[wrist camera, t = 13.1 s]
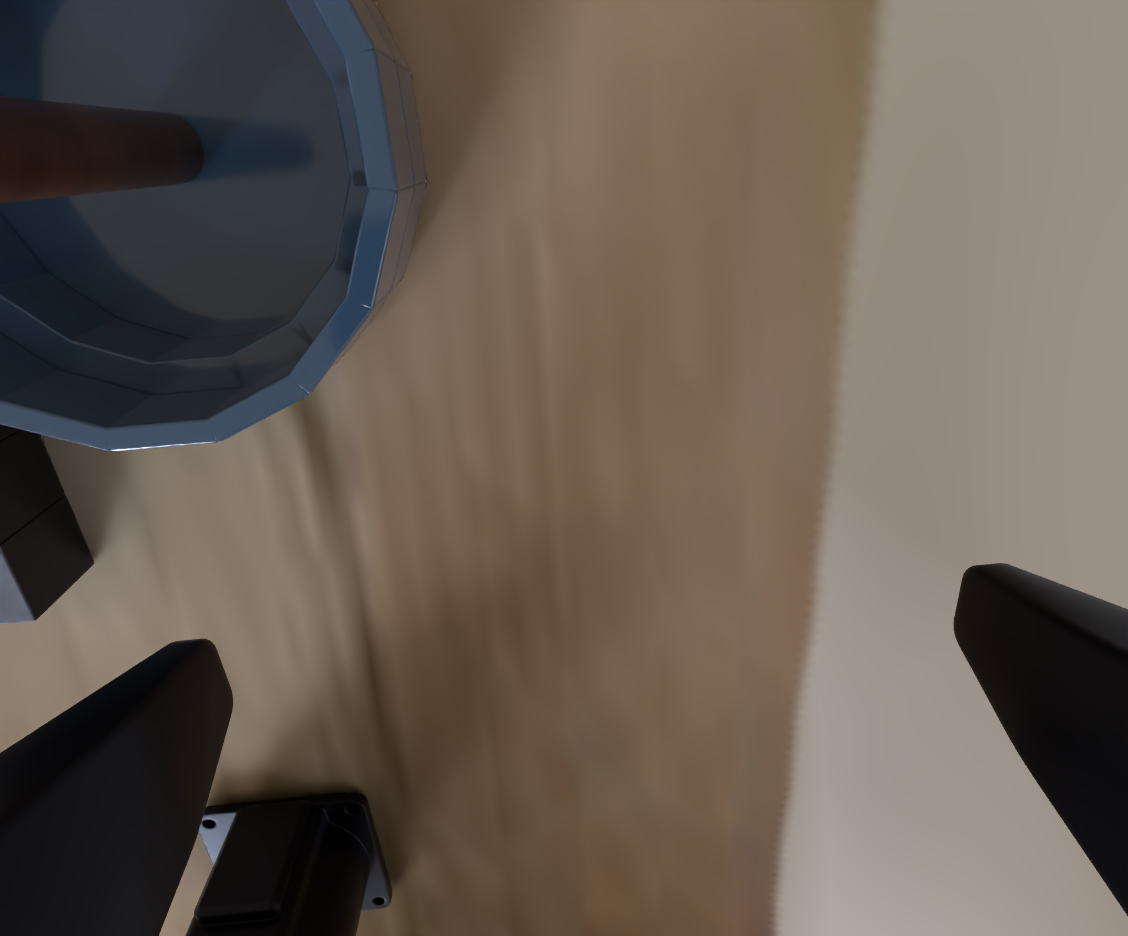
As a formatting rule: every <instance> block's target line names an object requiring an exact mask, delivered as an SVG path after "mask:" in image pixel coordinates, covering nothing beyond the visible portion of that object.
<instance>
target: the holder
mask: <svg viewBox="0 0 1128 936" xmlns="http://www.w3.org/2000/svg"><path fill="white" fill-rule="evenodd" d="M93 564H94V561H93V558H92V556H91V554H90V551H89V549H88V547H87V544H86V542H85V540H84V537H83V535H82V533H81V530H80V528H79V526H78V523H77V521H76V519H75V516H74V514H73V512H72V509H71V507H70V505H69V502H68V500H67V498H66V496H64V491H63V488H62V486H61V484H60V481H59V479H58V477H57V474H56V472H55V470H54V467H53V465H52V463H51V460H50V458H49V456H48V453H47V451H46V449H45V446H44V444H43V442H42V439H41V437H40V435H39V434H37V433H33V432H29V431H25V430H21V429H17V428H13V427H9V426H5V425H1V424H0V624H3V623H14V622H25V621H34V620H37V619H38V618H39V617H40V616H41V615H42V614H43V613H44V612H45V611H46V610H47V609H48V608H49V607H50V606H51V605H52V604H53V603H54V602H55V601H56V600H57V599H58V598H59V597H60V596H61V595H62V594H64V593H65V592H66V591H67V590H68V589H69V588H70V587H71V586H72V585H73V584H74V583H75V582H76V581H77V580H78V579H79V578H80V577H81V576H82V575H83V574H84V573H85V572H86V571H87V570H88V569H89V568H90V567H91V566H92V565H93Z"/></svg>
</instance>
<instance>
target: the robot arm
mask: <svg viewBox="0 0 1128 936" xmlns="http://www.w3.org/2000/svg"><path fill="white" fill-rule="evenodd" d="M954 633H955V637H956V640H957V642H958V644H959V646H960V648H961V650H962V652H963V653H964V655H965V657H966V659H967V661H968V663H969V665H970V666H971V668H972V670H973V672H974V674H975V676H976V677H977V679H978V681H979V683H980V685H981V687H982V689H983V690H984V692H985V694H986V696H987V697H988V699H989V701H990V703H991V705H992V707H993V709H994V711H995V712H996V714H997V716H998V718H999V720H1000V722H1001V724H1002V725H1003V727H1004V729H1005V731H1006V733H1007V735H1008V736H1009V738H1010V740H1011V742H1012V743H1013V745H1014V746H1015V748H1016V750H1017V752H1018V754H1019V755H1020V757H1021V758H1022V760H1023V761H1024V763H1025V765H1026V766H1027V768H1028V769H1029V771H1030V772H1031V774H1032V775H1033V777H1034V778H1035V780H1036V781H1037V783H1038V784H1039V786H1040V787H1041V789H1042V790H1043V792H1044V793H1045V795H1046V796H1047V798H1048V799H1049V801H1050V802H1051V803H1052V805H1053V806H1054V808H1055V809H1056V811H1057V812H1058V814H1059V815H1060V817H1061V818H1062V820H1063V821H1064V823H1065V824H1066V826H1067V827H1068V829H1069V830H1070V832H1071V833H1072V835H1073V836H1074V837H1075V839H1076V840H1077V842H1078V843H1079V845H1080V846H1081V848H1082V849H1083V851H1084V852H1085V854H1086V855H1087V857H1088V858H1089V860H1090V861H1091V863H1092V864H1093V865H1094V867H1095V868H1096V870H1097V871H1098V873H1099V874H1100V876H1101V877H1102V879H1103V880H1104V882H1105V883H1106V884H1107V886H1108V888H1109V889H1110V891H1111V892H1112V894H1113V895H1114V896H1115V898H1116V899H1117V901H1118V902H1119V904H1120V905H1121V907H1122V908H1123V910H1124V911H1125V913H1126V914H1127V916H1128V609H1125V608H1123V607H1120V606H1117V605H1115V604H1112V603H1109V602H1107V601H1104V600H1102V599H1099V598H1096V597H1093V596H1091V595H1088V594H1086V593H1083V592H1080V591H1078V590H1075V589H1072V588H1070V587H1067V586H1064V585H1062V584H1059V583H1056V582H1054V581H1051V580H1048V579H1046V578H1043V577H1041V576H1038V575H1035V574H1032V573H1030V572H1027V571H1025V570H1022V569H1019V568H1017V567H1014V566H1011V565H1008V564H1003V563H997V564H987V565H976V566H972V567H970V568H968V569H967V570H966V571H965V573H964V575H963V578H962V582H961V587H960V592H959V598H958V602H957V607H956V612H955V617H954ZM232 709H233V695H232V690H231V687H230V684H229V682H228V679H227V676H226V673H225V671H224V668H223V665H222V663H221V660H220V657H219V654H218V652H217V649H216V647H215V645H214V644H213V643H212V642H211V641H210V640H207V639H195V640H184V641H175V642H172V643H170V644H168V645H166V646H165V647H163V648H162V649H160V650H159V651H157V652H156V653H154V654H153V655H151V656H149V657H148V658H146V659H145V660H143V661H142V662H140V663H139V664H137V665H136V666H134V667H132V668H131V669H129V670H128V671H126V672H125V673H123V674H122V675H120V676H119V677H117V678H115V679H114V680H112V681H111V682H109V683H108V684H106V685H105V686H103V687H102V688H100V689H99V690H97V691H95V692H94V693H92V694H91V695H89V696H88V697H86V698H85V699H83V700H82V701H80V702H78V703H77V704H75V705H74V706H72V707H71V708H69V709H68V710H66V711H65V712H63V713H61V714H60V715H58V716H57V717H55V718H54V719H52V720H51V721H49V722H48V723H46V724H44V725H43V726H41V727H40V728H38V729H37V730H35V731H34V732H32V733H31V734H29V735H27V736H26V737H24V738H23V739H21V740H20V741H18V742H17V743H15V744H14V745H12V746H10V747H9V748H7V749H6V750H4V751H3V752H1V753H0V936H159V934H160V931H161V928H162V926H163V923H164V921H165V918H166V916H167V913H168V911H169V908H170V905H171V903H172V900H173V898H174V895H175V893H176V890H177V888H178V885H179V882H180V880H181V877H182V875H183V872H184V870H185V867H186V865H187V862H188V860H189V857H190V854H191V851H192V849H193V846H194V843H195V840H196V838H197V835H198V831H199V833H200V835H201V837H202V840H203V842H204V844H205V847H206V849H207V851H208V853H209V856H210V858H211V860H212V863H213V865H214V866H213V868H212V871H211V873H210V875H209V878H208V880H207V882H206V885H205V887H204V889H203V891H202V894H201V896H200V898H199V901H198V903H197V905H196V908H195V911H194V917H193V919H192V921H191V924H190V926H189V928H188V931H187V933H186V935H185V936H356V932H357V928H358V923H359V918H360V914H361V910H371V909H381V908H385V907H387V906H389V905H390V903H391V898H392V887H391V884H390V880H389V876H388V873H387V869H386V865H385V862H384V858H383V855H382V851H381V847H380V844H379V840H378V837H377V833H376V829H375V826H374V822H373V818H372V815H371V811H370V808H369V804H368V800H367V798H366V797H365V796H364V795H362V794H360V793H357V792H350V793H340V794H329V795H319V796H309V797H298V798H288V799H278V800H267V801H257V802H247V803H236V804H226V805H216V806H208V807H206V804H207V801H208V797H209V794H210V790H211V786H212V783H213V779H214V775H215V772H216V768H217V765H218V761H219V757H220V754H221V750H222V747H223V743H224V739H225V736H226V732H227V729H228V725H229V721H230V718H231V714H232Z"/></svg>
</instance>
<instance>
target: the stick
mask: <svg viewBox="0 0 1128 936" xmlns="http://www.w3.org/2000/svg"><path fill="white" fill-rule="evenodd" d="M202 163H203V150H202V145H201V142H200V140H199V138H198V136H197V134H196V133H195V131H194V130H193V129H192V128H191V126H190V125H189V124H187V123H186V122H185V121H184V120H182V119H181V118H179V117H177V116H175V115H173V114H169V113H164V112H154V111H143V110H133V109H123V108H113V107H103V106H92V105H82V104H72V103H62V102H52V101H41V100H31V99H21V98H11V97H1V96H0V203H8V202H18V201H27V200H37V199H46V198H56V197H65V196H74V195H84V194H93V193H103V192H112V191H122V190H131V189H140V188H150V187H159V186H169V185H178V184H184V183H187V182H189V181H191V180H192V179H194V178H195V177H196V176H197V175H198V173H199V172H200V170H201V167H202Z"/></svg>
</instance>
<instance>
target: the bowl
mask: <svg viewBox="0 0 1128 936" xmlns="http://www.w3.org/2000/svg"><path fill="white" fill-rule="evenodd" d="M409 72H410V69H409V67H408V65H407V63H406V61H405V59H404V57H403V55H402V53H401V51H400V49H399V47H398V46H397V44H396V42H395V40H394V38H393V36H392V34H391V32H390V30H389V28H388V26H387V24H386V23H385V21H384V19H383V17H382V15H381V13H380V11H379V9H378V7H377V5H376V3H375V1H374V0H0V96H1V97H11V98H21V99H31V100H41V101H52V102H62V103H72V104H82V105H92V106H103V107H113V108H123V109H133V110H143V111H154V112H164V113H169V114H173V115H175V116H177V117H179V118H181V119H182V120H184V121H185V122H186V123H187V124H189V125H190V126H191V128H192V129H193V130H194V131H195V133H196V134H197V136H198V138H199V140H200V142H201V145H202V150H203V163H202V167H201V170H200V172H199V173H198V175H197V176H196V177H195V178H194V179H192V180H191V181H189V182H187V183H184V184H178V185H169V186H159V187H150V188H140V189H131V190H122V191H112V192H103V193H93V194H84V195H74V196H65V197H56V198H46V199H37V200H27V201H18V202H8V203H0V424H1V425H5V426H9V427H13V428H17V429H21V430H25V431H29V432H33V433H37V434H41V435H45V436H49V437H53V438H57V439H61V440H65V441H69V442H73V443H77V444H81V445H85V446H89V447H93V448H97V449H101V450H105V451H110V450H111V451H125V450H137V449H148V448H159V447H171V446H182V445H194V444H205V443H216V442H218V441H223V440H225V439H227V438H229V437H231V436H233V435H234V434H236V433H238V432H240V431H242V430H244V429H246V428H248V427H250V426H251V425H253V424H255V423H257V422H259V421H261V420H263V419H265V418H267V417H269V416H270V415H272V414H274V413H276V412H278V411H280V410H282V409H284V408H286V407H287V406H289V405H291V404H293V403H295V402H297V401H299V400H301V399H303V398H304V397H306V396H308V395H309V394H310V393H311V392H312V391H313V390H314V389H315V388H316V387H317V386H318V385H319V383H320V382H321V381H322V380H323V379H324V378H325V376H326V375H327V374H328V373H329V372H330V371H331V370H332V368H333V367H334V366H335V365H336V364H337V363H338V362H339V360H340V359H341V358H342V357H343V356H344V355H345V353H346V352H347V351H348V350H349V349H350V348H351V347H352V345H353V344H354V343H355V342H356V341H357V339H358V338H359V337H360V335H361V334H362V333H363V331H364V330H365V329H366V327H367V326H368V325H369V323H370V322H371V321H372V319H373V318H374V317H375V315H376V314H377V313H378V311H379V310H380V309H381V307H382V306H383V305H384V303H385V302H386V301H387V299H388V298H389V297H390V295H391V294H392V293H393V291H394V290H395V289H396V287H397V286H398V285H399V283H400V282H401V281H402V279H403V278H404V276H405V274H406V271H407V267H408V263H409V258H410V254H411V250H412V245H413V241H414V237H415V232H416V228H417V224H418V219H419V215H420V211H421V207H422V202H423V198H424V194H425V189H426V185H427V184H426V182H425V181H426V179H427V177H426V170H425V163H424V156H423V150H422V143H421V136H420V129H419V122H418V115H417V108H416V101H415V95H414V88H413V81H412V75H411V73H409Z"/></svg>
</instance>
